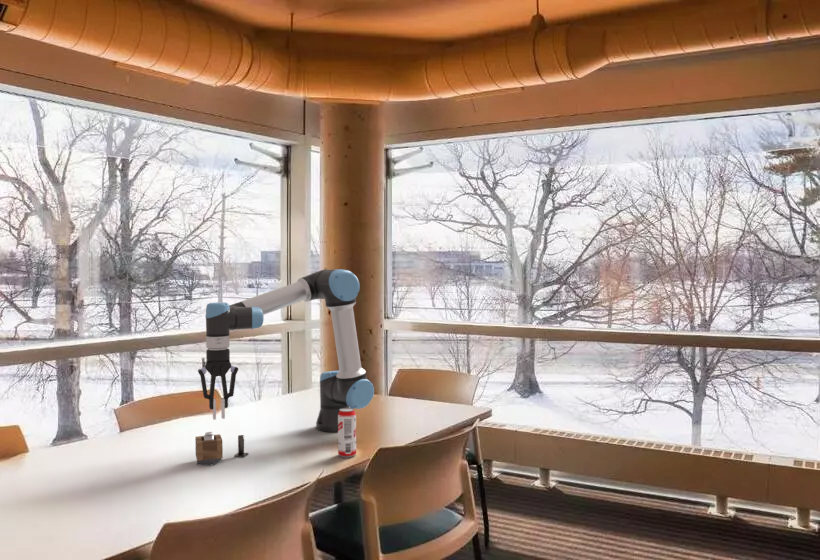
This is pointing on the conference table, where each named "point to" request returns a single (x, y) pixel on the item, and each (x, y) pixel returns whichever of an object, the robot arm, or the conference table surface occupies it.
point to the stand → (241, 447)
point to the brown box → (209, 448)
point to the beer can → (347, 432)
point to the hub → (211, 461)
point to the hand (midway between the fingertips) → (218, 418)
